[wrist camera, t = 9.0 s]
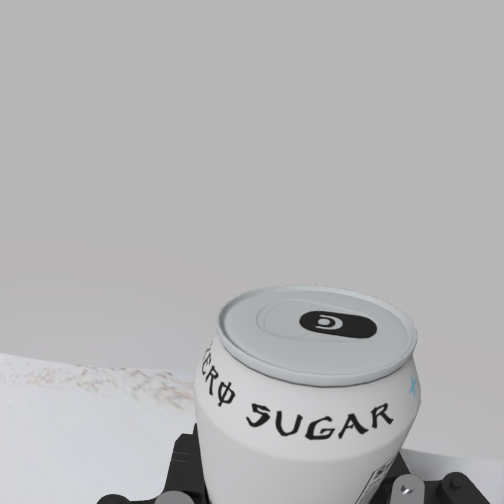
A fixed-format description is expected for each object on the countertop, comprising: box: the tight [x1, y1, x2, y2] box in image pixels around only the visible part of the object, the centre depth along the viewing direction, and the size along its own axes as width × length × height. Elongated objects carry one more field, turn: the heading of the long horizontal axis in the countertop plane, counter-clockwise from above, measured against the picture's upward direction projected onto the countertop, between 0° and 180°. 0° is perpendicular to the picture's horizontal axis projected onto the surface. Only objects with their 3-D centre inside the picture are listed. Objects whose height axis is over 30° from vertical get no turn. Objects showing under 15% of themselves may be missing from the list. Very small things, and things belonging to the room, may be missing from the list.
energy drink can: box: [193, 285, 420, 504], centre depth 9 cm, size 6×6×15 cm
